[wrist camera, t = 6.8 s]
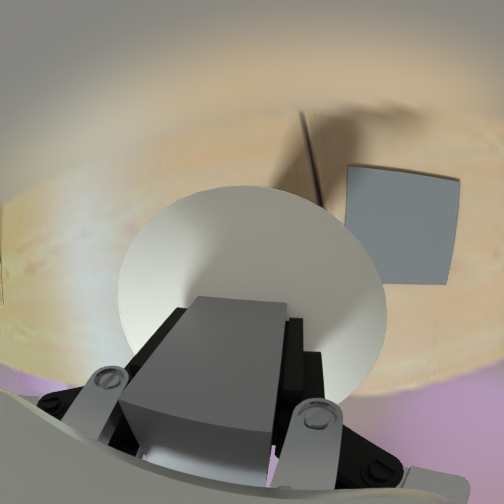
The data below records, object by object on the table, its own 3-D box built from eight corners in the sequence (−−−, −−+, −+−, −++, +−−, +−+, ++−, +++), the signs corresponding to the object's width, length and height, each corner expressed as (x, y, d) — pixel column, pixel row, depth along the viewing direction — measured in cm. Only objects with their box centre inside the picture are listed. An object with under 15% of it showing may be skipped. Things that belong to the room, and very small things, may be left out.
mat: (458, 181, 27) (460, 182, 26) (444, 283, 31) (446, 284, 30) (347, 166, 29) (348, 166, 29) (339, 280, 33) (339, 282, 33)
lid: (398, 194, 9) (525, 231, 3) (350, 415, 13) (360, 521, 6) (116, 190, 11) (-16, 217, 4) (151, 392, 14) (97, 474, 8)
